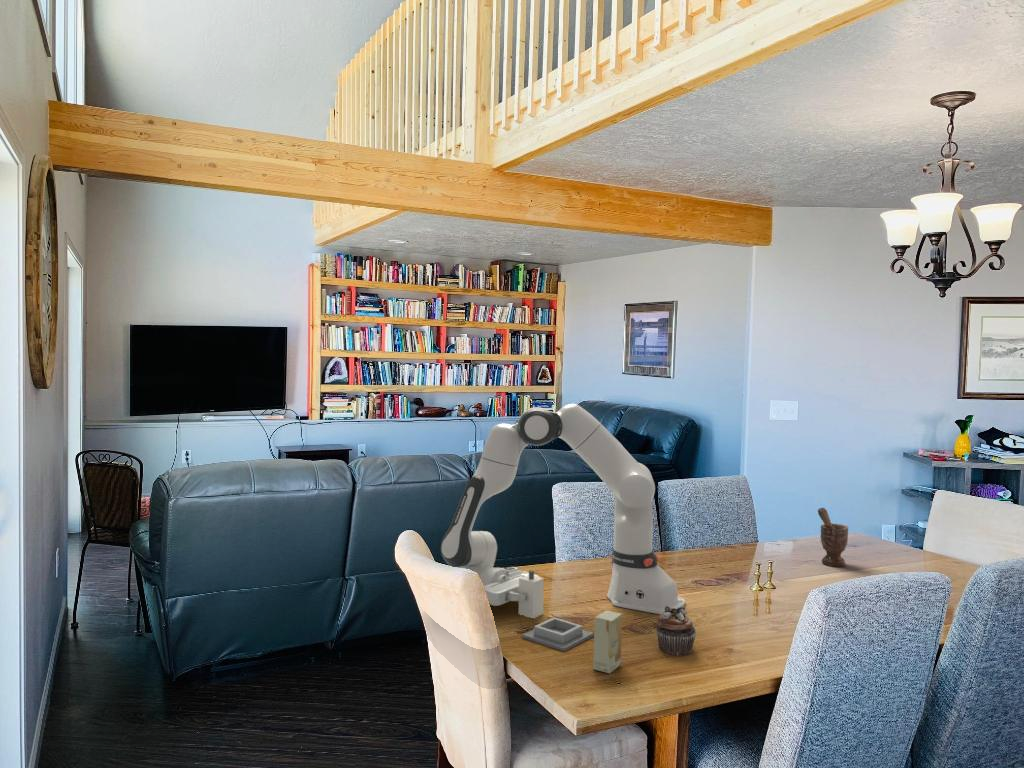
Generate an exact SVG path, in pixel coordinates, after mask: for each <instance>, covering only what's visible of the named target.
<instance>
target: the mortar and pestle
mask: <svg viewBox="0 0 1024 768" xmlns="http://www.w3.org/2000/svg"><path fill="white" fill-rule="evenodd" d="M817 512H818V513H817V515H818V516H819V517H820V519H821V522H822V524H821V525H820V543H821V546H822V548H823V550H825V552H826V554H825V555H824V557H823V558H822V559H821V563H822V564H823V565H826V566H828V567H834V568H836V567H837V568H838V567H839V568H841V567H845V566H846V561H845V558H843V557H842V554H843V552H845V550H846V547H847V545H848V540H849V526H847V525H845V524H841V523H832V522H831V519H830V515H829V512H828V510H827V509H826V508H825V507H820V508H819V509H817Z"/></svg>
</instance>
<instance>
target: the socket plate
mask: <svg viewBox="0 0 1024 768" xmlns="http://www.w3.org/2000/svg"><path fill="white" fill-rule="evenodd" d="M590 638H591V639H592V638H594V632H592V631H588V630H585V629H583V625H582V624H577V623H574V622H571V621H567V620H565V619H561V618H558V617H551V618H550V619H547V620H545V621H543V622H540V623H539V624H537V625H534V626H533V629H531V630H529V631H526V632H525V633H523V634H521V639H524V640H528V641H530V642H531V641H532V642H533V643H537V644H540V645H543V646H545V647H547V648H548V647H549V648H551V649H555V650H558V651H561V652H567V651H568V650H570V649H571V648H574V647H576V646H579V644H582V643H583V642H585V641H586V640H589V639H590Z"/></svg>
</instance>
